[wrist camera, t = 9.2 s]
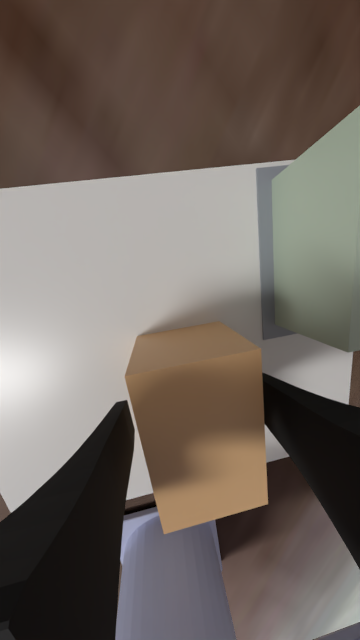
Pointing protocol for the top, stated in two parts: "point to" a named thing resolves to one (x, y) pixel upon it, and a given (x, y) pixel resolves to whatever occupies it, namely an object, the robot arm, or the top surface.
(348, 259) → the sage brick
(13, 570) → the robot arm
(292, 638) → the top surface
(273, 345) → the baseplate
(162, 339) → the tan brick
